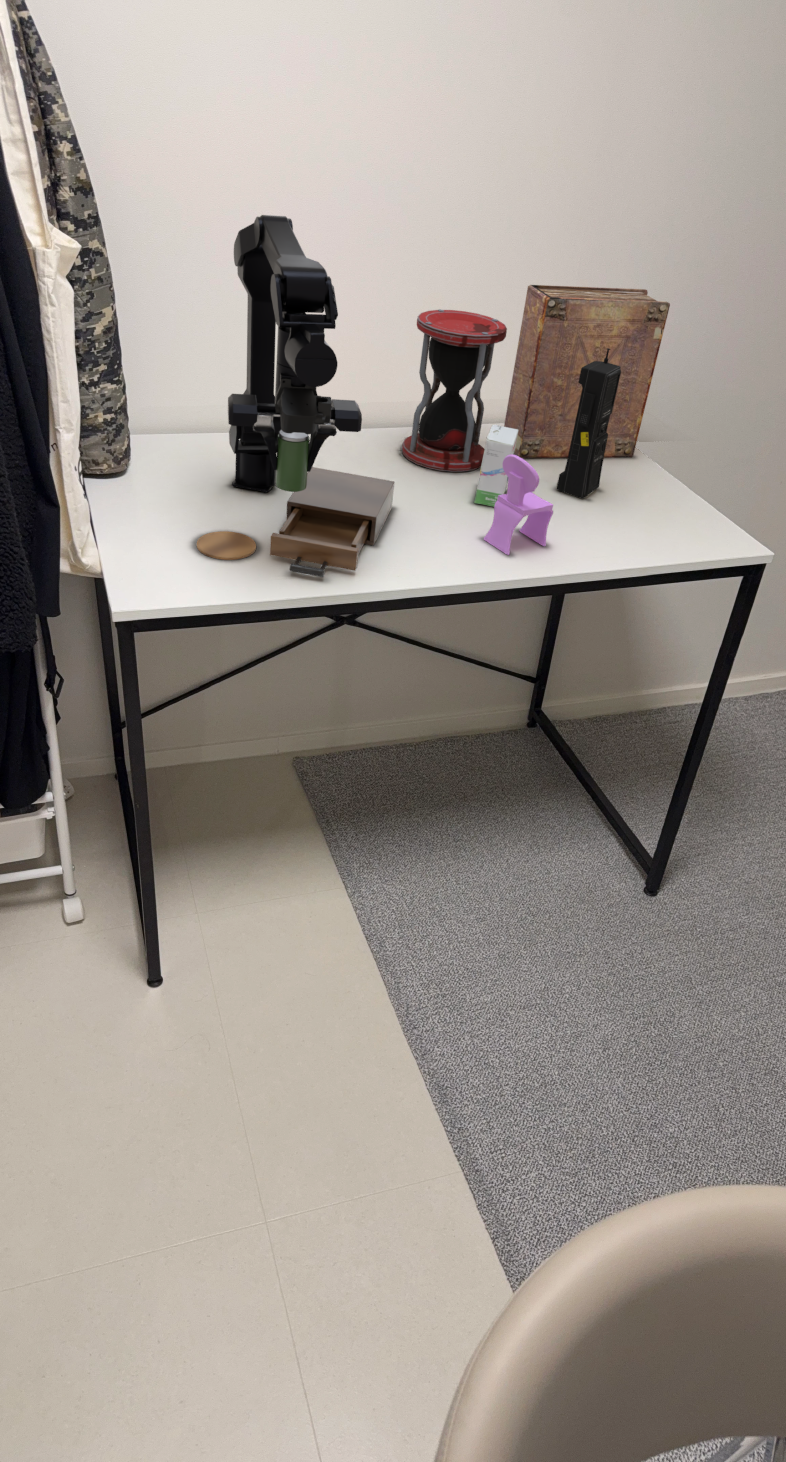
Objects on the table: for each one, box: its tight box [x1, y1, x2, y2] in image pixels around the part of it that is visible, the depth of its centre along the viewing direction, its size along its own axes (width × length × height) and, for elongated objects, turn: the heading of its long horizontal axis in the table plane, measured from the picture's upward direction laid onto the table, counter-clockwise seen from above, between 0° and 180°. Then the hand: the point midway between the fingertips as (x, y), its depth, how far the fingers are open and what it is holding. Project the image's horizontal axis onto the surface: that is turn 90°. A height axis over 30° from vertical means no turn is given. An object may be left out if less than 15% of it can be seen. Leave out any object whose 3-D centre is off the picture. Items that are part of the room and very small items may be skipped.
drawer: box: [269, 507, 372, 578], centre depth 160 cm, size 18×13×3 cm
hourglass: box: [401, 308, 508, 473], centre depth 193 cm, size 16×16×25 cm
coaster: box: [196, 530, 257, 561], centre depth 160 cm, size 9×9×1 cm
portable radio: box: [556, 348, 621, 500], centre depth 186 cm, size 8×6×25 cm
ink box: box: [473, 424, 519, 508], centre depth 183 cm, size 9×5×12 cm, turn 168°
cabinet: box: [285, 466, 395, 546], centre depth 171 cm, size 15×14×5 cm
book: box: [503, 284, 671, 459], centre depth 202 cm, size 25×9×30 cm, turn 107°
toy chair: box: [483, 454, 554, 556], centre depth 168 cm, size 8×9×15 cm
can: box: [275, 430, 310, 493], centre depth 153 cm, size 5×5×8 cm
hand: (291, 470), depth 154 cm, fingers closed on can, 4 cm apart
